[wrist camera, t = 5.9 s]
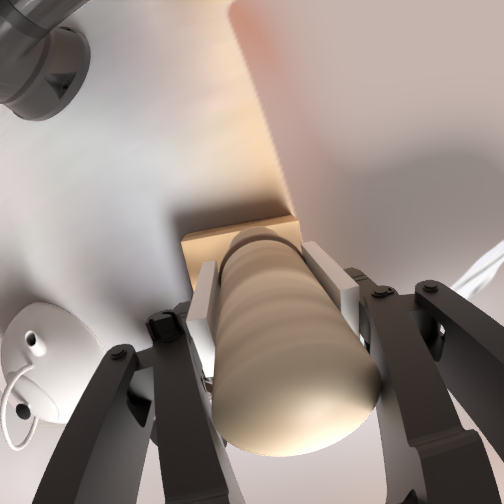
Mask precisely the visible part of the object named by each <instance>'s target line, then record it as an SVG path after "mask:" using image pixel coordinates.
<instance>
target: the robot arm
mask: <svg viewBox="0 0 504 504" xmlns="http://www.w3.org/2000/svg"><path fill="white" fill-rule="evenodd" d="M88 1H89V0H0V104H3V105H5V106H6V107H8V108H9V109H10V110H12V111H13V113H14V114H16V115H17V116H18V117H20V118H22V119H25V120H31V121H42V120H46V119H49V118H51V117H53V116H54V115H56V114H58V113H59V112H60V111H62V110H63V109H64V108H65V107H66V106H67V105H68V104H69V103H70V102H71V101H72V99H73V98H74V97H75V95H76V94H77V92H78V91H79V89H80V88H81V86H82V84H83V82H84V80H85V77H86V75H87V72H88V69H89V64H90V47H89V44H88V42H87V40H86V39H85V37H84V36H83V35H81V34H80V33H79V32H77V31H76V30H74V29H72V28H68V27H58V26H57V25H58V24H59V23H61V22H62V21H63V20H64V19H65V18H67V17H68V16H69V15H70V14H72V13H73V12H74V11H76V10H77V9H78V8H80V7H81V6H82V5H84V4H85V3H87V2H88ZM300 245H301V252H302V255H303V257H304V258H305V260H306V263H307V266H308V268H309V269H310V271H311V272H312V273H313V275H314V276H315V277H316V279H317V280H318V282H319V283H320V284H321V286H322V287H323V289H324V290H325V291H326V293H327V294H328V296H329V297H330V298H331V300H332V301H333V303H334V304H335V305H336V307H337V308H338V310H339V311H340V312H341V314H342V315H343V317H344V318H345V320H346V321H347V322H348V324H349V325H350V327H351V328H352V330H353V331H354V333H355V334H356V335H357V337H358V338H359V340H360V334H361V335H362V337H363V338H364V347H365V349H366V350H367V352H368V353H369V355H370V356H371V357H372V359H373V360H374V362H375V364H376V365H377V367H378V368H379V371H380V374H381V379H382V387H381V393H380V397H379V399H378V402H377V404H376V410H377V416H378V422H379V428H380V434H381V440H382V448H383V455H384V463H385V472H386V481H387V498H386V504H502V503H501V499H500V495H499V491H498V487H497V484H496V481H495V477H494V474H493V471H492V467H491V464H490V461H489V458H488V455H487V453H486V450H485V447H484V444H483V442H482V439H481V437H480V436H479V434H478V432H477V431H475V430H474V429H471V430H465V429H464V428H463V427H462V425H461V422H460V419H459V417H458V414H457V412H456V409H455V407H454V405H453V402H452V400H451V397H450V395H449V393H448V390H449V391H450V392H451V393H452V395H453V396H454V397H455V398H456V400H457V401H458V402H459V403H460V405H461V406H462V407H463V408H464V409H465V411H466V412H467V414H468V415H469V416H470V417H471V419H472V420H473V421H474V422H475V424H476V425H477V427H479V429H480V430H481V432H482V433H483V434H484V436H485V437H486V438H487V440H488V441H489V443H490V444H491V445H492V447H493V448H494V449H495V451H496V452H497V453H498V455H499V456H500V458H501V459H502V461H503V462H504V327H503V326H502V325H500V324H499V323H498V322H496V321H495V320H494V319H492V318H491V317H490V316H488V315H487V314H486V313H484V312H483V311H481V310H480V309H479V308H477V307H476V306H474V305H473V304H472V303H470V302H469V301H467V300H466V299H465V298H463V297H462V296H460V295H459V294H457V293H456V292H454V291H453V290H451V289H450V288H448V287H447V286H445V285H444V284H442V283H440V282H438V281H434V280H426V281H422V282H420V283H418V284H417V285H416V286H415V294H407V295H399V294H398V293H397V291H396V290H395V289H394V288H392V287H389V286H377V285H376V284H375V283H374V282H373V281H372V280H371V279H369V278H368V277H367V276H366V275H365V274H364V273H363V272H361V271H360V270H358V269H355V268H348V269H342V268H341V267H340V266H339V265H338V264H336V262H335V261H334V260H333V259H332V258H330V256H328V255H327V254H326V253H325V252H324V251H323V250H322V249H321V248H320V247H319V246H318V245H317V244H316V243H315V242H314V241H309V242H304V243H300ZM218 278H219V271H218V267H217V263H216V260H213V261H208V262H203V264H202V267H201V270H200V274H199V277H198V281H197V284H196V287H195V291H194V294H193V298H192V301H189V302H183V303H179V304H178V305H177V306H176V307H175V308H174V310H165V311H161V312H158V313H155V314H154V315H152V316H150V317H149V318H148V319H147V321H146V323H145V324H146V326H147V329H148V331H149V334H150V336H151V339H152V341H153V347H151V348H148V349H146V350H142V351H139V352H136V351H135V349H134V347H133V346H132V345H130V344H122V345H116V346H114V347H112V348H111V349H110V350H108V351H107V352H106V354H105V355H104V357H103V358H102V360H101V362H100V364H99V365H98V367H97V369H96V371H95V372H94V374H93V376H92V378H91V379H90V381H89V383H88V385H87V387H86V389H85V390H84V392H83V394H82V396H81V398H80V400H79V402H78V404H77V405H76V407H75V409H74V411H73V413H72V415H71V417H70V419H69V421H68V423H67V425H66V427H65V430H64V431H63V433H62V435H61V437H60V439H59V441H58V444H57V446H56V448H55V450H54V452H53V455H52V456H51V459H50V461H49V463H48V465H47V468H46V471H45V472H44V475H43V477H42V479H41V482H40V484H39V487H38V489H37V492H36V494H35V497H34V500H33V502H32V504H136V501H137V495H138V490H139V485H140V480H141V475H142V471H143V466H144V462H145V457H146V452H147V447H148V444H149V439H150V435H151V431H152V426H153V422H154V418H156V430H157V441H158V451H159V460H160V467H161V475H162V482H163V488H164V495H165V504H246V503H245V501H244V499H243V496H242V493H241V491H240V488H239V486H238V483H237V481H236V478H235V475H234V472H233V470H232V467H231V464H230V462H229V459H228V456H227V453H226V450H225V447H224V444H223V441H222V438H221V435H220V434H219V433H218V431H217V430H216V428H215V426H214V424H213V421H212V416H211V403H210V400H209V397H208V393H207V390H206V386H205V383H204V380H203V378H202V368H203V371H204V374H205V376H206V377H213V375H214V360H215V347H216V334H217V322H218V310H219V298H220V285H219V279H218ZM441 325H442V326H443V327H444V330H445V333H444V334H443V333H442V332H441V331H440V328H441ZM446 387H447V388H446ZM447 389H448V390H447Z"/></svg>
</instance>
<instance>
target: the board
mask: <svg viewBox="0 0 504 504" xmlns="http://www.w3.org/2000/svg"><path fill="white" fill-rule="evenodd" d="M253 226H262V227H266V228H269V229H271V230H273V231H275V232H276V233H277V234H278V235H279V236H281V237H283V238H285V239H287V240H289V241H290V242H291V243H293V244H294V245H295V246H296V247H297V248H298V250H299V251H300V252H301V245H300V243H302V242H301V234H300V226H299V220H298V219H296V218H295V217H294V216H293V215H286V216H280V217H274V218H269V219H263V220H257V221H252V222H246V223H241V224H235V225H230V226H224V227H219V228H214V229H209V230H203V231H198V232H193V233H188V234H186V235H185V236H184V238H183V240H182V241H181V244H182V248H183V253H184V257H185V261H186V265H187V269H188V272H189V276H190V280H191V284H192V288H193V291H195V287H196V284H197V281H198V277H199V274H200V270H201V267H202V264H203V262H208V261H213V260H216V263H217V267H218V271H219V269H220V265H221V262H222V260H223V258H224V256H225V254H226V253H227V251H228V250H229V246H230V244H231V241H232V240H233V238H234V237H235V236H236V235H237V234H238V233H239V232H241V231H242V230H244V229H246V228H249V227H253ZM301 254H302V252H301Z"/></svg>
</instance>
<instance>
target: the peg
mask: <svg viewBox="0 0 504 504" xmlns="http://www.w3.org/2000/svg"><path fill="white" fill-rule="evenodd" d="M218 279H219V285H220V298H219V310H218V322H217V334H216V347H215V360H214V375H213V390H212V406H211V416H212V421H213V424H214V426H215V428H216V430H217V431H218V433H219V434H220V435H221V436H222V437H223V438H224V439H225V440H226V441H227V442H229V443H230V444H232V445H233V446H235V447H237V448H239V449H241V450H244V451H247V452H250V453H254V454H258V455H264V456H292V455H300V454H305V453H309V452H313V451H316V450H319V449H322V448H324V447H327V446H329V445H331V444H334V443H335V442H337V441H339V440H341V439H343V438H344V437H346V436H347V435H349V434H350V433H351V432H353V431H354V430H355V429H356V428H358V427H359V426H360V425H361V424H362V423H363V422H364V421H365V420H366V418H368V416H369V415H370V414H371V412H372V411H373V409H374V407H375V406H376V404H377V402H378V399H379V397H380V393H381V387H382V379H381V374H380V371H379V368H378V367H377V365H376V364H375V362H374V360H373V359H372V357H371V356H370V355H369V353H368V352H367V350H366V349H365V347H364V346H363V344H362V343H361V341H360V340H359V338H358V337H357V335H356V334H355V333H354V331H353V330H352V328H351V327H350V325H349V324H348V322H347V321H346V320H345V318H344V317H343V315H342V314H341V312H340V311H339V310H338V308H337V307H336V305H335V304H334V303H333V301H332V300H331V298H330V297H329V296H328V294H327V293H326V291H325V290H324V289H323V287H322V286H321V284H320V283H319V282H318V280H317V279H316V277H315V276H314V275H313V273H312V272H311V271H310V269H309V268H308V266H307V263H306V260H305V258H304V257H303V255H302V254H301V252H300V251H299V250H298V248H297V247H296V246H295V245H294V244H293V243H291V242H290V241H289V240H287V239H285V238H283V237H281V236H279V235H278V234H277V233H276V232H275V231H273V230H271V229H269V228H266V227H262V226H253V227H249V228H246V229H244V230H242V231H241V232H239V233H238V234H237V235H236V236H235V237H234V238H233V240H232V241H231V244H230V246H229V250H228V251H227V253H226V254H225V256H224V258H223V260H222V262H221V265H220V269H219V278H218Z"/></svg>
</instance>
